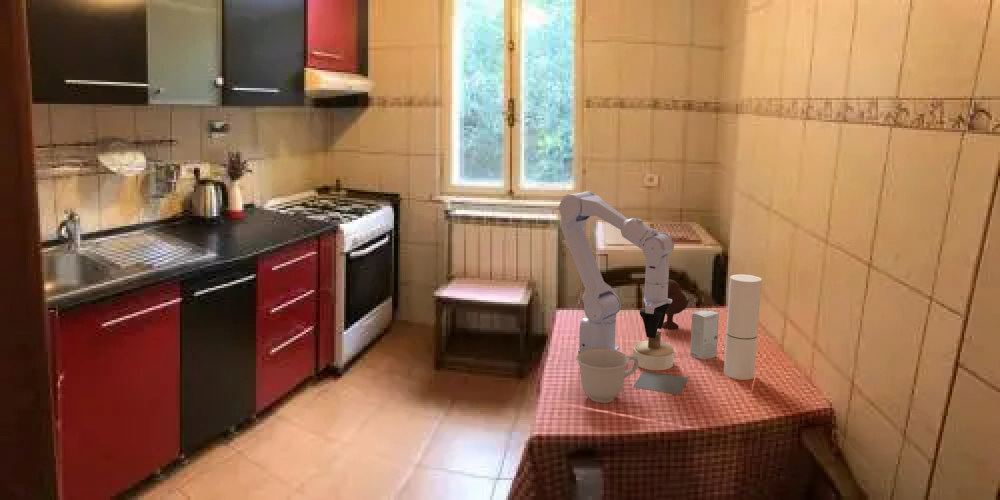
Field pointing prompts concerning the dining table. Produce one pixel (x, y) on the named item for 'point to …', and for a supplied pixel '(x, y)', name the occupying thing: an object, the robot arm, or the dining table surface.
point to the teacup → (604, 372)
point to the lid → (654, 347)
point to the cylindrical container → (742, 326)
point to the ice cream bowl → (674, 304)
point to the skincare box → (704, 334)
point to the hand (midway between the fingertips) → (654, 332)
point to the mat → (661, 382)
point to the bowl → (654, 361)
